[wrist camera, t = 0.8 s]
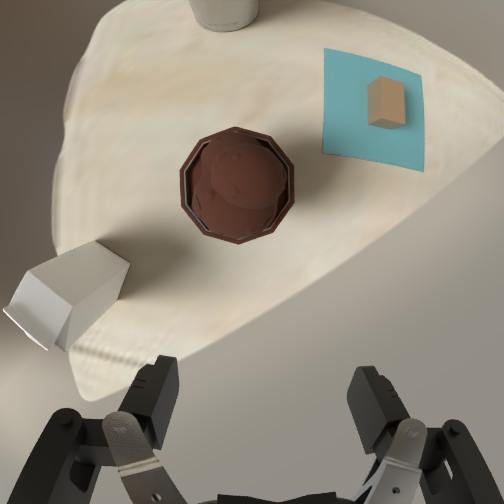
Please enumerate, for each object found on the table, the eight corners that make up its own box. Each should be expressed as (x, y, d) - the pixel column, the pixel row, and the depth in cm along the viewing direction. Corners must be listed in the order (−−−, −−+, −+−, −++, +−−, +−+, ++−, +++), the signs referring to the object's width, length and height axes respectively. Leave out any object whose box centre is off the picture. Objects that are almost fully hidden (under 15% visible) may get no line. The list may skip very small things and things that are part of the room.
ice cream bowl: (210, 134, 32) (180, 101, 18) (295, 157, 33) (325, 140, 18) (188, 213, 35) (144, 234, 20) (271, 236, 35) (283, 274, 21)
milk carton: (94, 239, 36) (3, 282, 17) (131, 263, 36) (50, 324, 18) (82, 278, 37) (3, 332, 19) (117, 301, 38) (47, 372, 20)
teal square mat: (322, 50, 29) (332, 33, 24) (418, 76, 29) (435, 67, 24) (320, 153, 33) (331, 148, 28) (420, 171, 33) (441, 172, 28)
